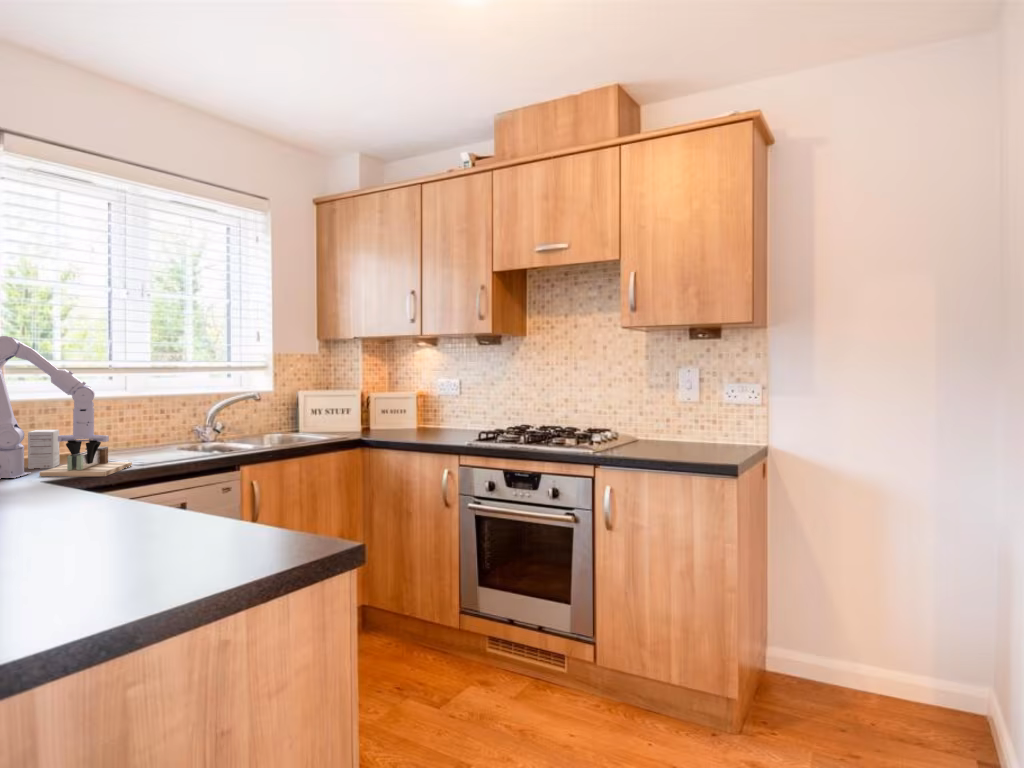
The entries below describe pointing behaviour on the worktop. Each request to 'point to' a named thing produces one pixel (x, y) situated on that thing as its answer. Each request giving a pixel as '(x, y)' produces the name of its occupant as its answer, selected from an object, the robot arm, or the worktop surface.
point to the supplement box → (43, 449)
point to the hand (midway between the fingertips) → (83, 463)
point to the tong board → (95, 470)
